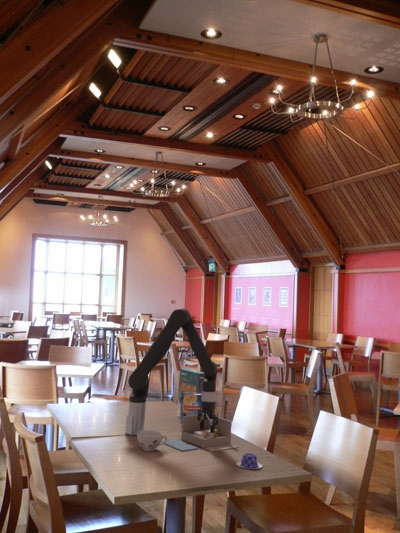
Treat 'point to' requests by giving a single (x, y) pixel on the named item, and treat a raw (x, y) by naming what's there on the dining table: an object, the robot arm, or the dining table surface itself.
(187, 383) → the cake mix box
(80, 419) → the dining table surface
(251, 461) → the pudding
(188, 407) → the beverage box
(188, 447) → the mat
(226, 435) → the carton
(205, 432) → the block
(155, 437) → the teacup
